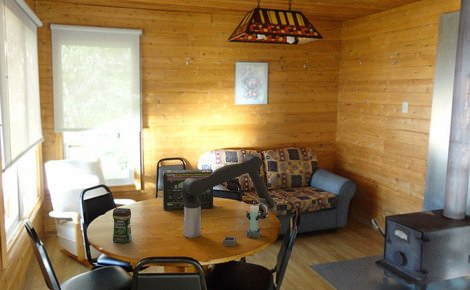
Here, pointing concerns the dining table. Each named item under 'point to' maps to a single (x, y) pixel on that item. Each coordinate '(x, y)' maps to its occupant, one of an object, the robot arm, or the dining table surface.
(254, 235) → the tray
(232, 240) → the holster
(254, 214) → the plug
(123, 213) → the coffee jar
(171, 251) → the dining table surface
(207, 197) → the router box
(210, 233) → the dining table surface
